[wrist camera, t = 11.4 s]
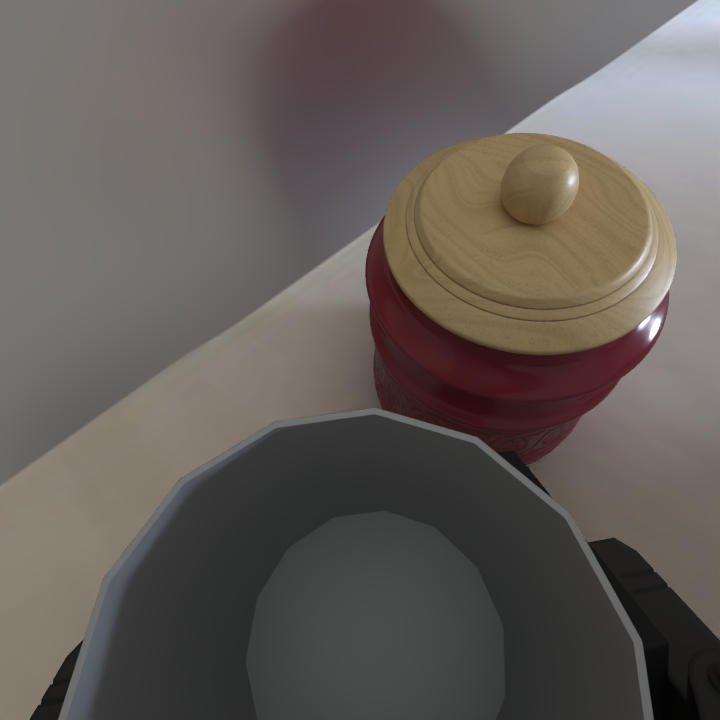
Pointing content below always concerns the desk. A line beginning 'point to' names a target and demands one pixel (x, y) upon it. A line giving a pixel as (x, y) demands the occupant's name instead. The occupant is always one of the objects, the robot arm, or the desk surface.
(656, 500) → the desk surface
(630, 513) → the desk surface
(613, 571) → the robot arm
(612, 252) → the kitchen canister
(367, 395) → the desk surface
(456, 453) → the cup
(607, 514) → the desk surface
